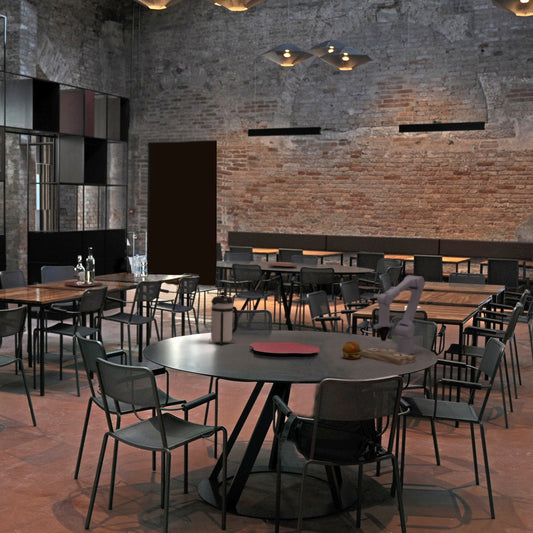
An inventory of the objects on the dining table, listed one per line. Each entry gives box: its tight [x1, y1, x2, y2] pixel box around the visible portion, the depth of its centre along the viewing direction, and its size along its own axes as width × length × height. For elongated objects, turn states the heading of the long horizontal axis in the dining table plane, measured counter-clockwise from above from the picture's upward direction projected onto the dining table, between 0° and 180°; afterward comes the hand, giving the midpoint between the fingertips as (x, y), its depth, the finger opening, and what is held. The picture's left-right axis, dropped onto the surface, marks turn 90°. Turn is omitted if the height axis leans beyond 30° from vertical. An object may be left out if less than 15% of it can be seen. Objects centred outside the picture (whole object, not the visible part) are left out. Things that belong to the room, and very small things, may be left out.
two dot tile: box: [379, 348, 396, 355], centre depth 398 cm, size 6×6×3 cm
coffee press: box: [208, 291, 239, 346], centre depth 430 cm, size 17×16×30 cm
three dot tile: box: [392, 354, 410, 358], centre depth 391 cm, size 6×6×3 cm
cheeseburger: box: [341, 341, 363, 360], centre depth 397 cm, size 10×11×10 cm
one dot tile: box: [366, 347, 382, 352], centre depth 405 cm, size 6×6×3 cm
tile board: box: [361, 347, 417, 366], centre depth 398 cm, size 14×28×3 cm, turn 41°
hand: (383, 340), depth 403 cm, fingers closed
